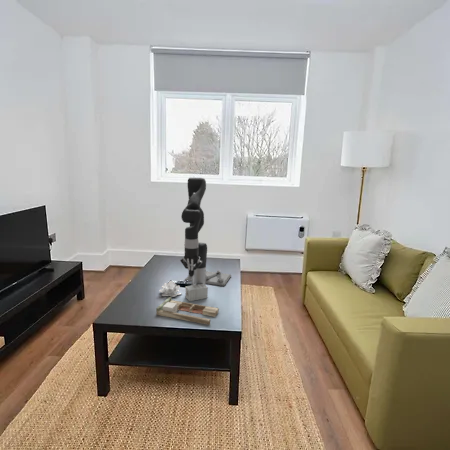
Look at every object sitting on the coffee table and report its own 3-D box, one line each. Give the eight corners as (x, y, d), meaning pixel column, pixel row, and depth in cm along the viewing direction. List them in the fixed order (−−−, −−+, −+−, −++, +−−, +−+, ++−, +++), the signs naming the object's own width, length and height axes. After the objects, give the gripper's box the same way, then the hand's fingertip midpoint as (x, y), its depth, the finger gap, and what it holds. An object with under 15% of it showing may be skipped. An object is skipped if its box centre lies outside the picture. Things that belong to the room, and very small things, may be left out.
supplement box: (184, 297, 201) (203, 293, 207) (189, 301, 195) (207, 298, 201) (185, 286, 200) (203, 283, 206) (189, 290, 193) (208, 287, 199)
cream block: (167, 310, 183) (167, 301, 182) (177, 311, 182) (177, 303, 181) (162, 314, 178) (162, 306, 177) (172, 316, 176) (172, 308, 175)
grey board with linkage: (231, 277, 240) (231, 268, 239) (224, 287, 220) (224, 277, 219) (194, 272, 248) (194, 263, 246) (183, 282, 227) (184, 272, 226)
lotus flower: (186, 294, 205) (186, 281, 204) (168, 301, 194) (168, 288, 193) (172, 288, 215) (172, 276, 213) (154, 294, 203) (154, 281, 202)
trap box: (169, 303, 191) (169, 297, 191) (218, 312, 182) (218, 305, 182) (156, 314, 177) (156, 308, 176) (209, 324, 168) (209, 317, 167)
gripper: (205, 245, 173) (205, 275, 177) (183, 243, 177) (183, 272, 181) (200, 249, 166) (199, 280, 170) (177, 246, 170) (177, 276, 174)
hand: (191, 276), depth 175 cm, fingers closed
